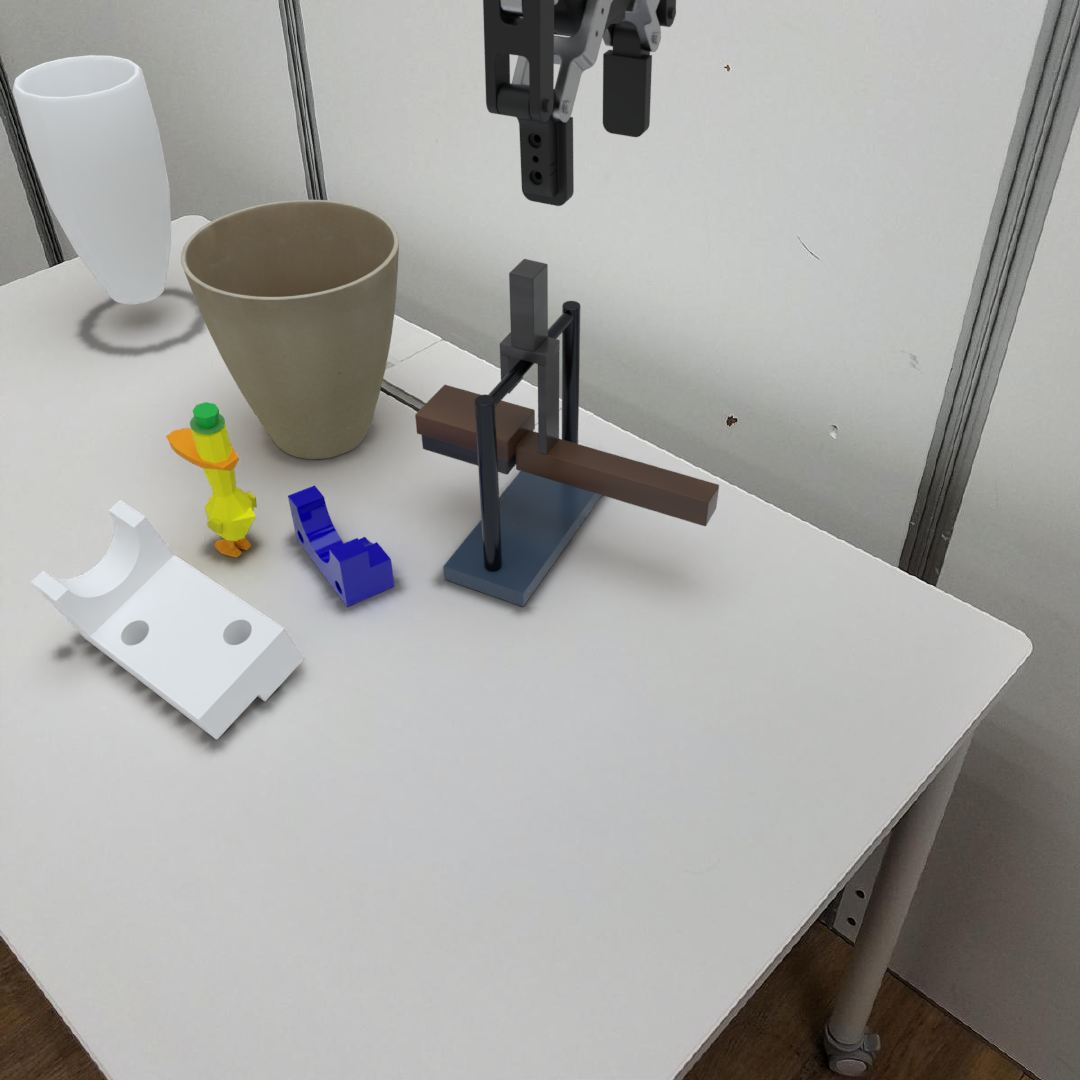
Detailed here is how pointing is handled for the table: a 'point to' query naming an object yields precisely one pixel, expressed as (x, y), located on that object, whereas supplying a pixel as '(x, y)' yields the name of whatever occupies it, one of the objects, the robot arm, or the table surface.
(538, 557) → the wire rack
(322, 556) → the cable holder
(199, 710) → the bracket
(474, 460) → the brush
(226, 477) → the toy figure
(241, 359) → the plant pot
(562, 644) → the table surface
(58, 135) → the cup
